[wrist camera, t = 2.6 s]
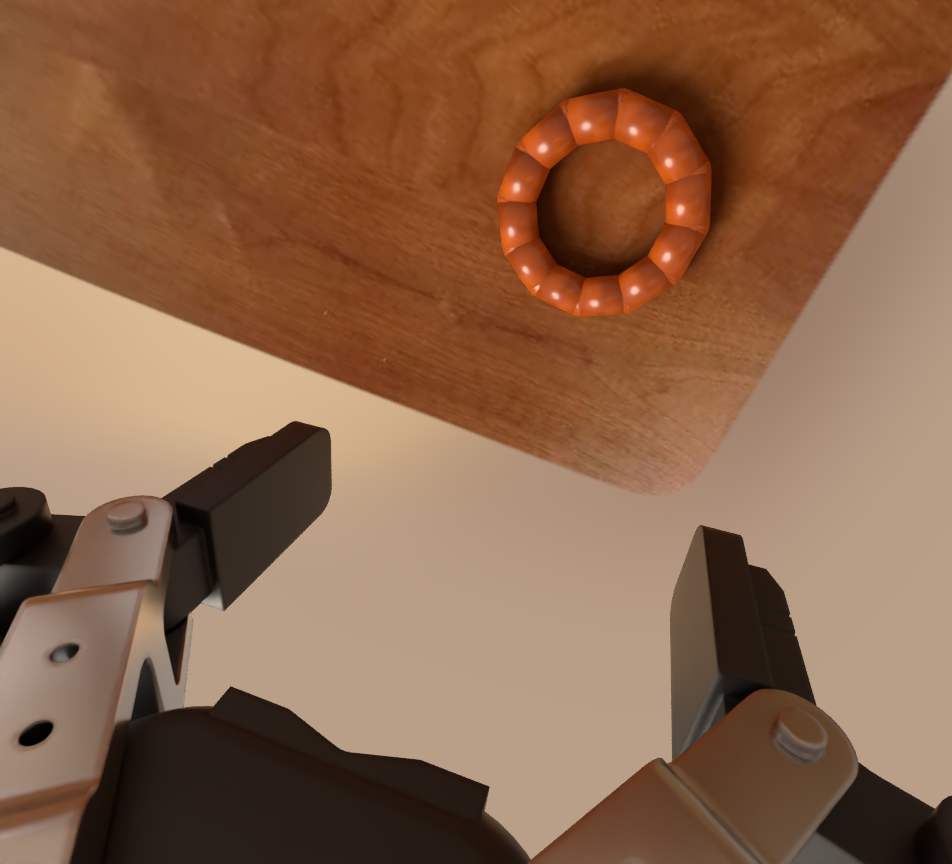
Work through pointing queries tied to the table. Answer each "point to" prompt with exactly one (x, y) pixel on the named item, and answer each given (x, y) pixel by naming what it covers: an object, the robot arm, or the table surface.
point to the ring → (674, 161)
